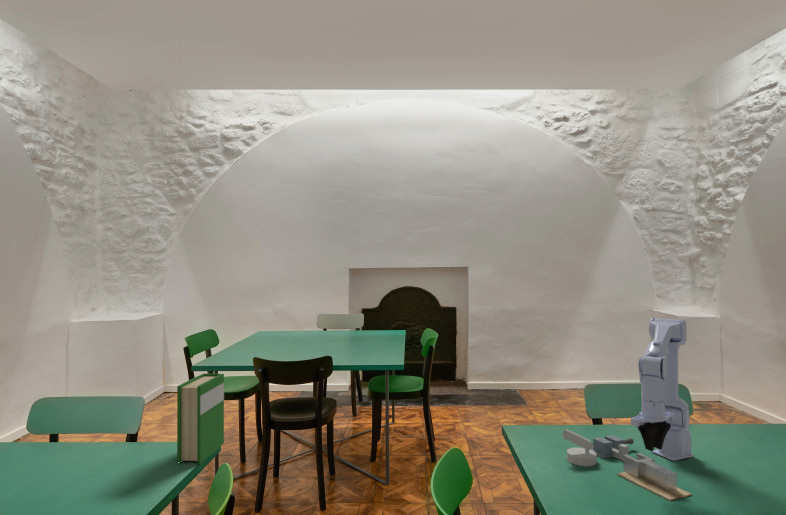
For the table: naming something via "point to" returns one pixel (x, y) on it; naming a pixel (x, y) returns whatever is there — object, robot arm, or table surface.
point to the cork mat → (655, 487)
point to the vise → (611, 447)
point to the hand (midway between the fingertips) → (653, 449)
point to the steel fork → (650, 471)
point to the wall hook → (580, 450)
